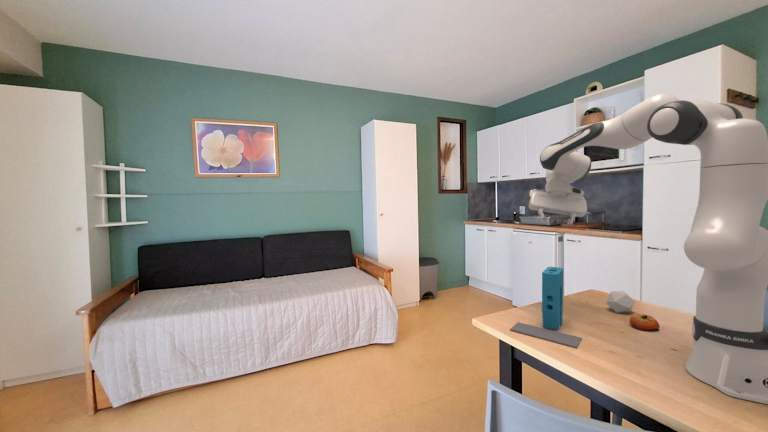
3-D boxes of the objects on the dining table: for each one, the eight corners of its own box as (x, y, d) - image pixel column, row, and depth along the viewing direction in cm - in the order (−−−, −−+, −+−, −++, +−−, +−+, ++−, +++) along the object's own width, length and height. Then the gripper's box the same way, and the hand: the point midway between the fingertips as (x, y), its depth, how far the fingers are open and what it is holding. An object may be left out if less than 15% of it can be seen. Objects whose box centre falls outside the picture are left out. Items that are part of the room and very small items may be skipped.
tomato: (624, 322, 107) (632, 305, 109) (627, 331, 111) (635, 314, 112) (652, 334, 101) (661, 315, 102) (655, 342, 104) (663, 324, 106)
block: (548, 318, 116) (548, 266, 115) (563, 321, 113) (563, 268, 112) (541, 328, 107) (541, 272, 106) (557, 332, 104) (557, 274, 103)
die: (635, 318, 116) (642, 296, 118) (613, 306, 117) (620, 284, 120) (619, 318, 123) (626, 297, 126) (599, 307, 125) (606, 286, 127)
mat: (581, 339, 99) (581, 337, 99) (576, 348, 93) (576, 346, 93) (517, 323, 112) (517, 322, 112) (510, 330, 106) (510, 329, 106)
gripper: (531, 184, 123) (529, 213, 117) (588, 191, 118) (589, 222, 112) (527, 193, 129) (525, 221, 123) (582, 200, 123) (582, 230, 117)
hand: (556, 221), depth 117 cm, fingers open, 8 cm apart
